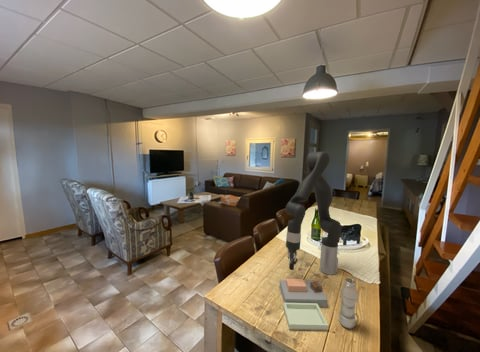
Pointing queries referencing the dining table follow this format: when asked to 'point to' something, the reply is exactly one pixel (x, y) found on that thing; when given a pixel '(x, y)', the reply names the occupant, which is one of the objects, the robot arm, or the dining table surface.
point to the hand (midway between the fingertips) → (291, 269)
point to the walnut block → (316, 286)
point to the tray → (304, 316)
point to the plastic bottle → (348, 304)
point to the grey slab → (303, 295)
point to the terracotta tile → (296, 285)
